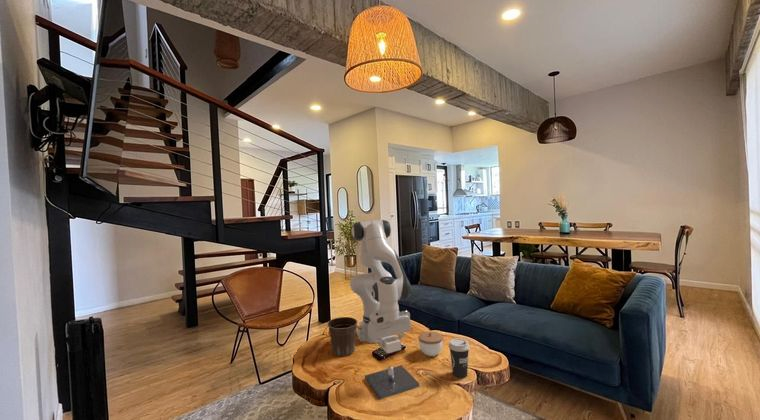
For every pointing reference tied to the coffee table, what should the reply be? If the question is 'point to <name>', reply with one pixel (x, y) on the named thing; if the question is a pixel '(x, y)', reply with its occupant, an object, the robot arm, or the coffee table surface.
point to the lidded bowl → (430, 343)
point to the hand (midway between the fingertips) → (390, 344)
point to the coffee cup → (459, 357)
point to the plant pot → (342, 335)
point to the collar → (391, 344)
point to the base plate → (391, 381)
